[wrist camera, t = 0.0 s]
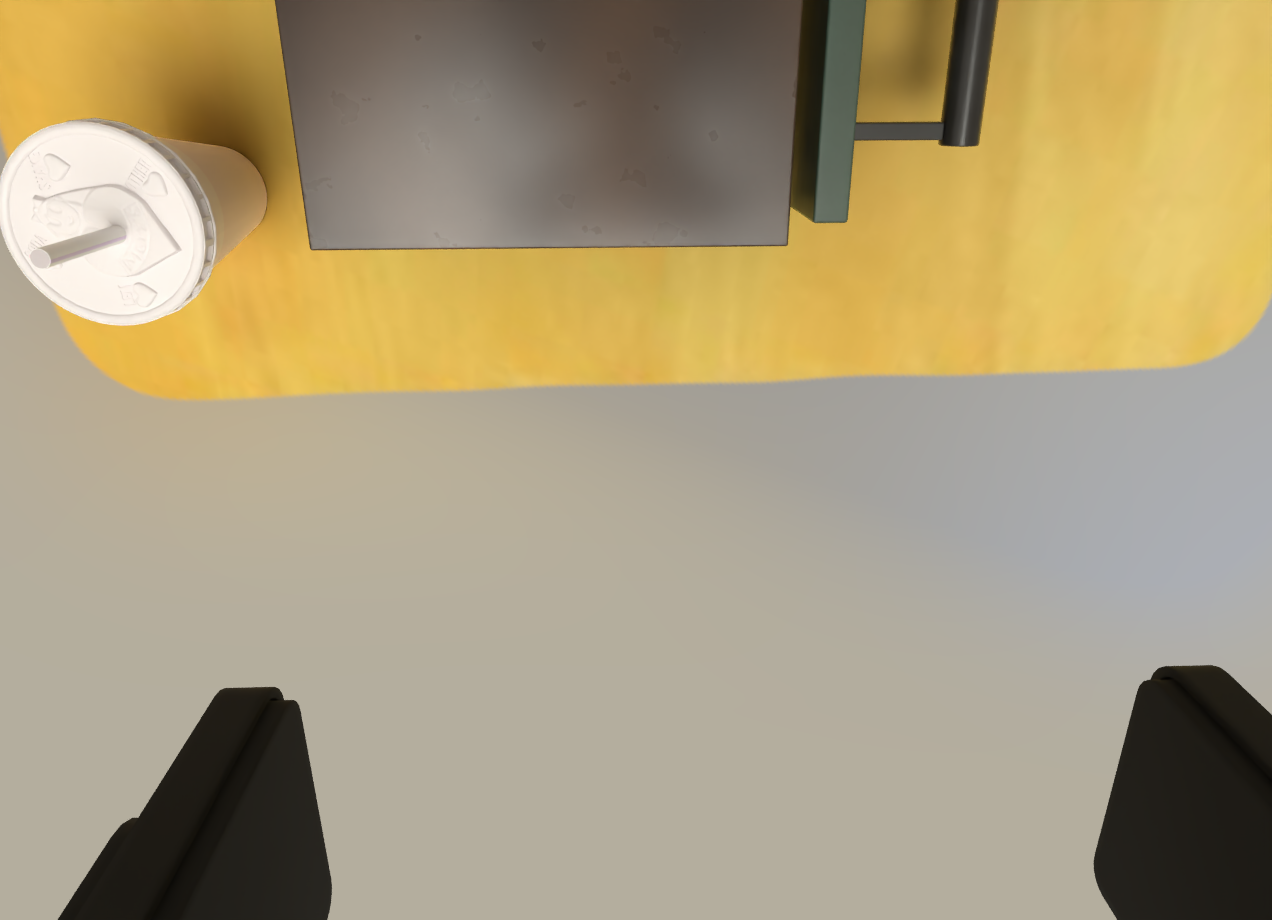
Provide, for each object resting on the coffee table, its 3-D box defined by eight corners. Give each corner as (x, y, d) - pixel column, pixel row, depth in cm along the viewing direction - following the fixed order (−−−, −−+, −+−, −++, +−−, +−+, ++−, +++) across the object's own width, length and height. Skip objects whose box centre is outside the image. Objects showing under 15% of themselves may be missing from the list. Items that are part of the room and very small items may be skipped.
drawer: (977, -166, 32) (1068, -225, 26) (933, 197, 37) (1001, 221, 31) (419, -168, 32) (373, -230, 25) (449, 201, 37) (417, 226, 30)
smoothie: (287, 288, 39) (130, 393, 26) (133, 245, 38) (-110, 331, 25) (311, 137, 36) (152, 169, 24) (148, 87, 36) (-111, 92, 23)
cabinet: (766, -180, 33) (819, -264, 25) (748, 210, 38) (788, 246, 30) (327, -182, 32) (236, -269, 24) (372, 213, 38) (309, 250, 30)
